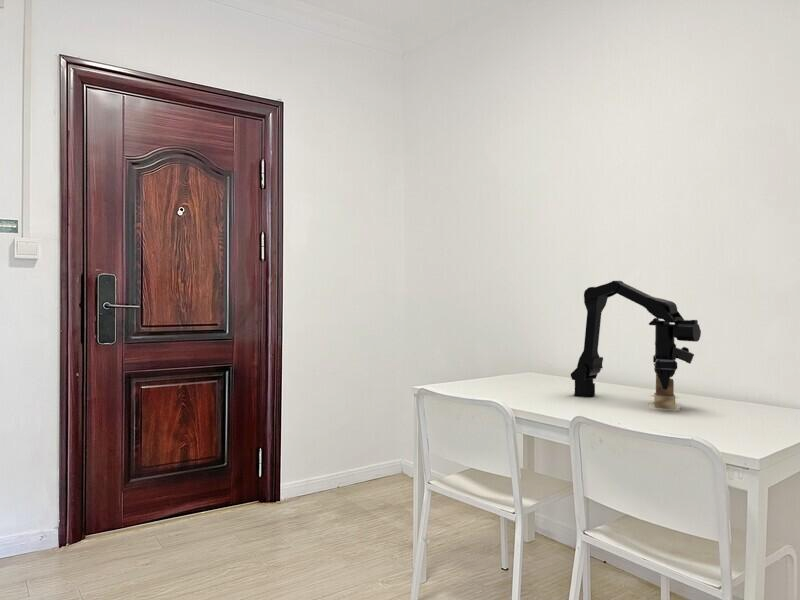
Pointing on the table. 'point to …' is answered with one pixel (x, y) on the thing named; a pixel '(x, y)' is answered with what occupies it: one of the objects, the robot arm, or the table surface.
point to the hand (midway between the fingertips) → (664, 387)
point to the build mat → (665, 409)
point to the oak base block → (664, 402)
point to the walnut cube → (663, 392)
